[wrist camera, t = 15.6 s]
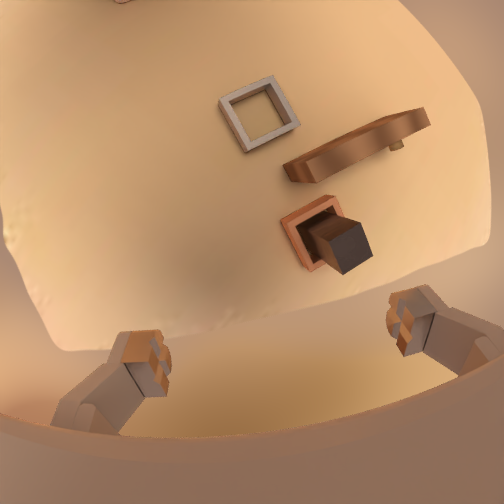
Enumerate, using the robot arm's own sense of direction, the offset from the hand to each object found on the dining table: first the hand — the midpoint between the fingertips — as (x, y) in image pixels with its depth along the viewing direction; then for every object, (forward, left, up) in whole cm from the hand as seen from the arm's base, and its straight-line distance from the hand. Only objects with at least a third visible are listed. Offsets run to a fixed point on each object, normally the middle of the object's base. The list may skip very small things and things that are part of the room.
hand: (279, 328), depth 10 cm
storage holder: (-3, +13, -29) cm, 32 cm away
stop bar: (+11, +5, -29) cm, 31 cm away
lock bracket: (+11, +5, -29) cm, 31 cm away
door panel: (+9, +17, -29) cm, 34 cm away
